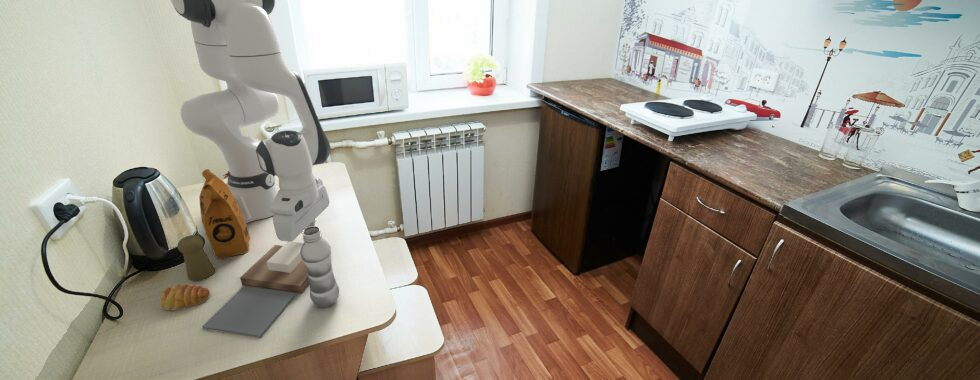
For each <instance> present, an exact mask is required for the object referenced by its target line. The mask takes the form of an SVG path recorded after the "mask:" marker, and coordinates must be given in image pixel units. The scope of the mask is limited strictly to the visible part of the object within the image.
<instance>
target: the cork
mask: <svg viewBox="0 0 980 380" xmlns="http://www.w3.org/2000/svg"><path fill="white" fill-rule="evenodd" d="M203 247H204V240H203V238H202V237H200V235H197V234H196V235H194V234H193V235H191V234H190V235H187V236H185V237H183V238H180V239H179V240H178V242H177V250H178V251H179V252H180V253H181V254H182V255H183V260H184V264H185V270H186V274H187V280H189V281H190V282H193V283H194V282H195V283H196V282H203V281H206V280H208V279H210V278H212V276H214V275H215V274H216V272H217V270H216V267H215V265H214V264H213V263H212V260H211V259H210V257H209V255H208V254H207V252H206V251H205V249H204V248H203Z"/></svg>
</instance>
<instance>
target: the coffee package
mask: <svg viewBox="0 0 980 380" xmlns="http://www.w3.org/2000/svg"><path fill="white" fill-rule="evenodd" d="M201 175H202V177H204V179H205V181H204V184H203V186H202V188H201V191H200V193H199V207H200V216H201V217H200V218H201V223H202V226H203V229H204V233H205V235H206V238H207V240H208V242H209V244H210V246H211V248H212V251H213V254H214V256H215V257H216V258H217V259H219V260H223V259H224V258H229V257H233V256H238V255H239V256H240V255H242V254H245V253H247V252H249V251H250V243H249V242H250V240H251V236H250V235H251V234H250V232H249V229H248V225H247V223H245V220H244V217H243V215H242V212H241V210H240V208H239V206H238V204H237V202H236V200H235V198H234V196H233V195H232V193H231V191H230V189H229V187H228V186H227V185H226V182H225V181H224V180H222V179H220V178H219V177H218V176H217V175H216V174H215V173H213V172H211V170H210V169H208V168H206V169H205V170H203V171H202V173H201Z"/></svg>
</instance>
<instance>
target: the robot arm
mask: <svg viewBox="0 0 980 380" xmlns="http://www.w3.org/2000/svg"><path fill="white" fill-rule="evenodd" d="M170 2H171V4H172V5H173V8H174V10H175V11H176V12H177V14H178V15H180V16H181V17H183V18H184V19H185V20H187V21H190V25H191V33H192V39H193V41H194V46H195V51H196V55H197V59H198V63H199V66H200V69H201V70H202V71H203V73H204V74H205V75H207V76H209V77H210V78H213V79H216V80H220V81H222V82H223V81H224V82H225V83H226V86H227V88H226V89H224V90H218V91H214V92H209V93H204V94H200V95H197V96H195V97H192V98H190V99H188V100H185V101H183V103H182V105H181V108H180V119H181V120H182V123H183V124H184V126H185V127H186V128H187V129H188V130H189V131H190V132H192V133H194V134H196V135H198V136H202V137H203V138H205V139H208V140H210V141H211V142H213V143H214V144H215V145H216V146H217V147H218V148H219V150H220V151H221V153H222V155H223V158H224V160H225V163H226V165H227V168H228V171H227V172H226V173H225V174H223V175H222V176H223V180H224V179H227V182H225V184H226V185H227V186H228V187H229V189H230V191H231V193H232V195H233V196H234V198H235V200H236V202H237V204H238V206H239V208H240V210H241V212H242V215H243V217H244V220H245V223H246V224H248V223H251V222H253V221H259V220H263V219H267V218H270V217H272V221H273V228H274V231H275V232H274V233H275V234H276V238H277V239H278V240H279V241H281V242H294V240H295V239H296V238H298V237H299V236H300V235H301V234H302V232H303V230H304V229H305V228H307V227H311V226H316V219H317V218H318V217H319V216H320V215H321V214H322V213H323V212H324V211H325V210H326V209H327V208H328V207H329V205H330V199H329V193H328V191H327V188H326V186H325V185H324V184H323V180H322V179H320V178H316V177H315V175H314V173H313V166H317V165H321V164H324V163H326V162H327V160H328V158H329V156H330V155H331V152H332V148H331V144H330V141H329V140H328V137H327V135H326V133H325V131H324V129H323V127H322V124H321V122H320V119H319V117H318V115H317V113H316V110H315V109H316V108H314V104H313V102H312V99H311V97H310V95H309V93H308V92H309V91H308V90H307V88H306V85H305V84H304V81H303V79H302V78H301V76H300V75H299V73H298V72H296V71H295V70H291V69H290V68H289V66H287V64H286V62H285V61H284V58H283V56H282V53H281V49H280V45H279V42H278V38H277V35H276V32H275V29H274V26H273V24H272V22H271V19H270V17H269V15H270V14H271V13H272V12H273V10H274V8H275V5H276V0H170ZM278 95H280V96H285V97H286V98H288V99H289V100H290V102H291V103H292V104H293V107H294V109H295V112H296V115H297V117H298V119H299V122H300V123H301V126H302V129H301V130H300V131H295V130H282V131H278V132H275V133H274V134H273V135H271V137H269V138H265V139H264V140H260V139H258V138H256V137H251V136H247V135H243V134H242V132H241V129H242V128H244V127H248V126H252V125H254V124H258V123H263V122H265V121H267V120H269V119H272V118H273V117H275V116H276V115H278V113H279V110H280V100H279V97H278ZM276 176H277V178H278V187H277V184H276V182H275V177H276ZM278 188H279V189H278Z"/></svg>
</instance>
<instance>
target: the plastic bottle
mask: <svg viewBox="0 0 980 380" xmlns="http://www.w3.org/2000/svg"><path fill="white" fill-rule="evenodd" d="M301 234H302V240H303V241H304V242H302V243H303V245H302V247H301V251H300V255H301V258H302V260H303V263H304V265H305V267H306V270H307V273H308V277H309V284H310V285H309V298H310V300H311V302H312V304H313V305H315V306H317V307H319V308H326V307H327V308H328V307H330V306H331V305H334V303H336V302H337V300H338V299H339V295H340V288H339V285H338V282H337V281H336V278H335V274H334V272H333V267H332V249H331V248H332V247H331V245H330V244H329V242H328V241H327V240H326V239H325V238H323V235H322V234H323V233H322V232H321V229H320V227H319V226H316V225H315V226H311V227H307V228H305V229H304V230H303V232H302V233H301Z"/></svg>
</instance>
